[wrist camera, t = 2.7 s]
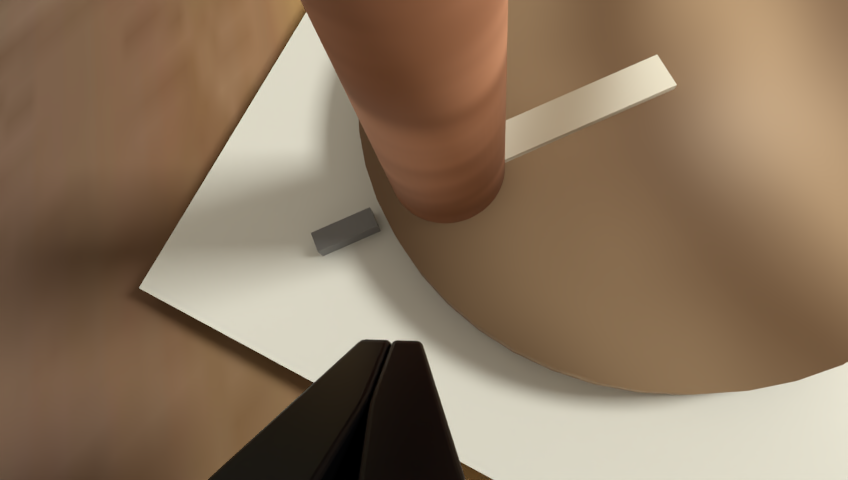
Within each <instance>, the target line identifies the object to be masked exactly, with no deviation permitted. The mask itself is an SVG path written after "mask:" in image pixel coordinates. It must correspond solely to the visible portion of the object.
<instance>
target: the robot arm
mask: <svg viewBox="0 0 848 480" xmlns="http://www.w3.org/2000/svg"><path fill="white" fill-rule="evenodd" d="M208 480H466V479H465V476H464V473H463V470H462V467H461V463H460V460H459V457H458V454H457V451H456V448H455V445H454V441H453V438H452V435H451V432H450V429H449V426H448V422H447V419H446V416H445V413H444V410H443V407H442V404H441V400H440V397H439V394H438V391H437V388H436V385H435V381H434V378H433V375H432V372H431V369H430V366H429V362H428V359H427V356H426V353H425V350H424V347H423V344H422V343H421V342H420V341H405V340H396V341H394V342H392V344H391V343H390V342H389V341H388V340H374V339H365V340H361V341H359V342H358V343H357V344H356V345H355V346H354V347H352V348H351V349H350V350H349V351H348V352H347V353H346V354H345V355H344V356H343V357H342V358H340V359H339V360H338V361H337V362H336V363H335V364H334V365H333V366H332V367H331V368H329V369H328V370H327V371H326V372H325V373H324V374H323V375H322V376H321V377H320V378H318V379H317V380H316V381H315V382H314V383H313V384H312V385H311V386H310V387H309V388H308V389H306V390H305V391H304V392H303V393H302V394H301V395H300V396H299V397H298V398H297V399H295V400H294V401H293V402H292V403H291V404H290V405H289V406H288V407H287V408H286V409H285V410H283V411H282V412H281V413H280V414H279V415H278V416H277V417H276V418H275V419H274V420H272V421H271V422H270V423H269V424H268V425H267V426H266V427H265V428H264V429H263V430H262V431H260V432H259V433H258V434H257V435H256V436H255V437H254V438H253V439H252V440H251V441H249V442H248V443H247V444H246V445H245V446H244V447H243V448H242V449H241V450H240V451H239V452H237V453H236V454H235V455H234V456H233V457H232V458H231V459H230V460H229V461H228V462H226V463H225V464H224V465H223V466H222V467H221V468H220V469H219V470H218V471H217V472H216V473H214V474H213V475H212V476H211V477H210V478H209V479H208Z"/></svg>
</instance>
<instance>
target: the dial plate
mask: <svg viewBox="0 0 848 480" xmlns="http://www.w3.org/2000/svg"><path fill="white" fill-rule="evenodd" d="M139 288H140V289H141V290H143V291H145V292H147V293H149V294H151V295H153V296H154V297H156V298H158V299H160V300H162V301H164V302H165V303H167V304H169V305H171V306H173V307H175V308H177V309H178V310H180V311H182V312H184V313H186V314H188V315H190V316H191V317H193V318H195V319H197V320H199V321H201V322H202V323H204V324H206V325H208V326H210V327H212V328H214V329H215V330H217V331H219V332H221V333H223V334H225V335H227V336H228V337H230V338H232V339H234V340H236V341H238V342H240V343H241V344H243V345H245V346H247V347H249V348H251V349H252V350H254V351H256V352H258V353H260V354H262V355H264V356H265V357H267V358H269V359H271V360H273V361H275V362H277V363H278V364H280V365H282V366H284V367H286V368H288V369H289V370H291V371H293V372H295V373H297V374H299V375H301V376H302V377H304V378H306V379H308V380H310V381H312V382H315V381H316V380H317V379H318V378H320V377H321V376H322V375H323V374H324V373H325V372H326V371H327V370H328V369H329V368H331V367H332V366H333V365H334V364H335V363H336V362H337V361H338V360H339V359H340V358H342V357H343V356H344V355H345V354H346V353H347V352H348V351H349V350H350V349H351V348H352V347H354V346H355V345H356V344H357V343H358V342H359V341H361V340H365V339H374V340H388V341H389V342H390V343H391V344H392V342H394V341H396V340H405V341H420V342H421V343H422V344H423V347H424V350H425V353H426V356H427V359H428V362H429V366H430V369H431V372H432V375H433V378H434V381H435V385H436V388H437V391H438V394H439V397H440V400H441V404H442V407H443V410H444V413H445V416H446V419H447V422H448V426H449V429H450V432H451V435H452V438H453V441H454V445H455V448H456V451H457V454H458V457H459V460H460V462H462V463H464V464H465V465H467V466H469V467H471V468H473V469H475V470H476V471H478V472H480V473H482V474H484V475H486V476H488V477H489V478H491V479H493V480H848V362H847V363H845V364H843V365H841V366H838V367H835V368H832V369H829V370H827V371H824V372H821V373H818V374H815V375H812V376H809V377H807V378H804V379H801V380H798V381H794V382H789V383H785V384H780V385H775V386H770V387H765V388H760V389H755V390H750V391H739V392H724V393H709V394H694V395H669V394H653V393H637V392H632V391H627V390H622V389H616V388H611V387H606V386H601V385H596V384H592V383H589V382H586V381H582V380H579V379H576V378H573V377H570V376H567V375H564V374H561V373H558V372H555V371H552V370H550V369H548V368H546V367H543V366H541V365H539V364H537V363H535V362H533V361H531V360H529V359H527V358H524V357H522V356H520V355H518V354H516V353H514V352H512V351H511V350H509V349H507V348H506V347H504V346H503V345H501V344H500V343H498V342H497V341H495V340H493V339H492V338H490V337H489V336H487V335H486V334H484V333H483V332H481V331H479V330H478V329H477V328H476V327H474V326H473V325H472V324H471V323H470V322H468V321H467V320H466V319H465V318H464V317H463V316H461V315H460V314H459V313H458V312H457V311H455V310H454V309H453V308H452V307H451V306H449V305H448V304H447V303H446V302H445V300H444V299H443V298H442V297H441V296H440V295H439V294H438V293H437V292H436V291H435V289H434V288H433V287H432V286H431V285H430V284H429V283H428V282H427V281H426V280H425V278H424V277H423V276H422V275H421V273H420V272H419V271H418V269H417V268H416V266H415V265H414V263H413V262H412V260H411V259H410V257H409V256H408V255H407V253H406V252H405V250H404V249H403V247H402V246H401V244H400V243H399V241H398V239H397V238H396V236H395V234H394V233H393V231H392V229H391V227H390V225H389V223H388V221H387V219H386V217H385V215H384V213H383V211H382V209H381V207H380V205H379V203H378V201H377V199H376V196H375V193H374V190H373V187H372V184H371V181H370V178H369V175H368V172H367V169H366V166H365V161H364V155H363V150H362V144H361V139H360V133H359V119H358V117H357V114H356V112H355V110H354V108H353V106H352V104H351V102H350V100H349V98H348V96H347V94H346V92H345V90H344V88H343V86H342V84H341V82H340V80H339V78H338V76H337V74H336V72H335V69H334V67H333V65H332V63H331V61H330V59H329V57H328V55H327V53H326V51H325V49H324V47H323V45H322V43H321V41H320V39H319V37H318V35H317V33H316V31H315V29H314V27H313V25H312V22H311V20H310V18H309V16H308V14H307V12H306V13H305V15H304V17H303V18H302V20H301V22H300V23H299V25H298V27H297V28H296V30H295V32H294V33H293V35H292V36H291V38H290V40H289V41H288V43H287V45H286V46H285V48H284V50H283V51H282V53H281V55H280V56H279V58H278V60H277V61H276V63H275V64H274V66H273V68H272V69H271V71H270V73H269V74H268V76H267V78H266V79H265V81H264V83H263V84H262V86H261V88H260V89H259V91H258V92H257V94H256V96H255V97H254V99H253V101H252V102H251V104H250V106H249V107H248V109H247V111H246V112H245V114H244V116H243V117H242V119H241V121H240V122H239V124H238V125H237V127H236V129H235V130H234V132H233V134H232V135H231V137H230V139H229V140H228V142H227V144H226V145H225V147H224V149H223V150H222V152H221V153H220V155H219V157H218V158H217V160H216V162H215V163H214V165H213V167H212V168H211V170H210V172H209V173H208V175H207V177H206V178H205V180H204V181H203V183H202V185H201V186H200V188H199V190H198V191H197V193H196V195H195V196H194V198H193V200H192V201H191V203H190V205H189V206H188V208H187V209H186V211H185V213H184V214H183V216H182V218H181V219H180V221H179V223H178V224H177V226H176V228H175V229H174V231H173V233H172V234H171V236H170V237H169V239H168V241H167V242H166V244H165V246H164V247H163V249H162V251H161V252H160V254H159V256H158V257H157V259H156V261H155V262H154V264H153V266H152V267H151V269H150V270H149V272H148V274H147V275H146V277H145V279H144V280H143V282H142V284H141V285H140V287H139Z"/></svg>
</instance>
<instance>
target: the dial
mask: <svg viewBox="0 0 848 480" xmlns="http://www.w3.org/2000/svg"><path fill="white" fill-rule="evenodd" d="M301 2H302V4H303V6H304V8H305V10H306V12H307V14H308V16H309V18H310V20H311V22H312V25H313V27H314V29H315V31H316V33H317V35H318V37H319V39H320V41H321V43H322V45H323V47H324V49H325V51H326V53H327V55H328V57H329V59H330V61H331V63H332V65H333V67H334V69H335V72H336V74H337V76H338V78H339V80H340V82H341V84H342V86H343V88H344V90H345V92H346V94H347V96H348V98H349V100H350V102H351V104H352V106H353V108H354V110H355V112H356V114H357V117H358V119H359V133H360V139H361V144H362V150H363V155H364V161H365V166H366V169H367V172H368V175H369V178H370V181H371V184H372V187H373V190H374V193H375V196H376V199H377V201H378V203H379V205H380V207H381V209H382V211H383V213H384V215H385V217H386V219H387V221H388V223H389V225H390V227H391V229H392V231H393V233H394V234H395V236H396V238H397V239H398V241H399V243H400V244H401V246H402V247H403V249H404V250H405V252H406V253H407V255H408V256H409V257H410V259H411V260H412V262H413V263H414V265H415V266H416V268H417V269H418V271H419V272H420V273H421V275H422V276H423V277H424V278H425V280H426V281H427V282H428V283H429V284H430V285H431V286H432V287H433V288H434V289H435V291H436V292H437V293H438V294H439V295H440V296H441V297H442V298H443V299H444V300H445V302H446V303H447V304H448V305H449V306H451V307H452V308H453V309H454V310H455V311H457V312H458V313H459V314H460V315H461V316H463V317H464V318H465V319H466V320H467V321H468V322H470V323H471V324H472V325H473V326H474V327H476V328H477V329H478V330H479V331H481V332H483V333H484V334H486V335H487V336H489V337H490V338H492V339H493V340H495V341H497V342H498V343H500V344H501V345H503V346H504V347H506V348H507V349H509V350H511V351H512V352H514V353H516V354H518V355H520V356H522V357H524V358H527V359H529V360H531V361H533V362H535V363H537V364H539V365H541V366H543V367H546V368H548V369H550V370H552V371H555V372H558V373H561V374H564V375H567V376H570V377H573V378H576V379H579V380H582V381H586V382H589V383H592V384H596V385H601V386H606V387H611V388H616V389H622V390H627V391H632V392H637V393H653V394H669V395H694V394H709V393H724V392H739V391H750V390H755V389H760V388H765V387H770V386H775V385H780V384H785V383H789V382H794V381H798V380H801V379H804V378H807V377H809V376H812V375H815V374H818V373H821V372H824V371H827V370H829V369H832V368H835V367H838V366H841V365H843V364H845V363H847V362H848V0H301Z"/></svg>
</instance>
